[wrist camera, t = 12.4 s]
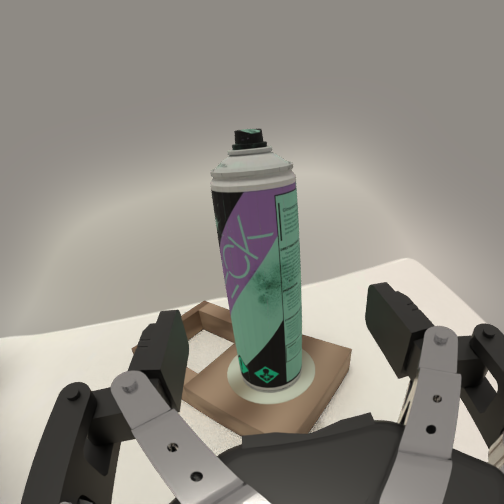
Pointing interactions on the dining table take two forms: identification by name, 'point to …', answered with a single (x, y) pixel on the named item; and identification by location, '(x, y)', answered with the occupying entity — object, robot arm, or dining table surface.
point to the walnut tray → (254, 402)
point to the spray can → (260, 260)
